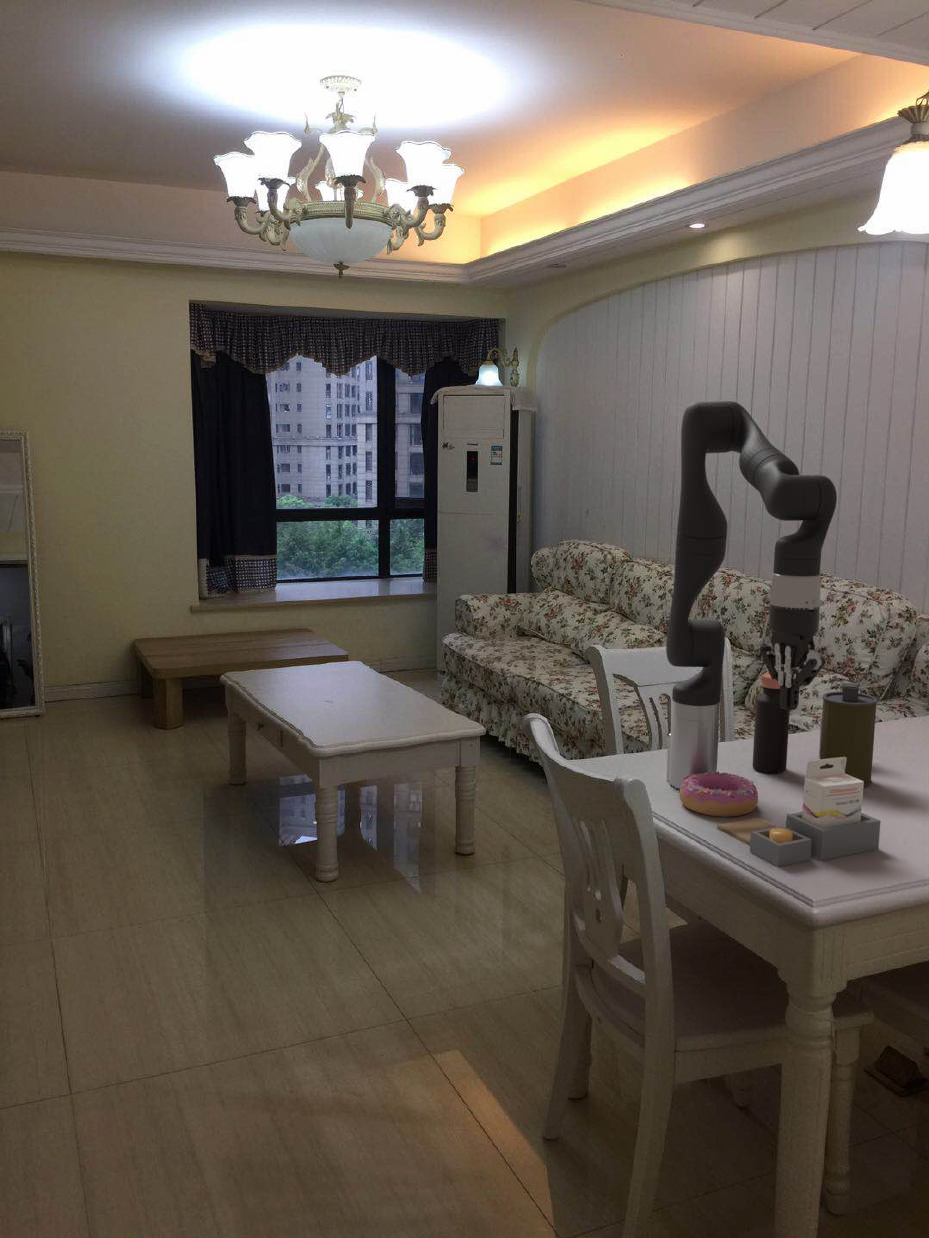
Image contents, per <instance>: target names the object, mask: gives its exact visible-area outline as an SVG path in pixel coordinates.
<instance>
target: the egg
mask: <svg viewBox="0 0 929 1238" xmlns="http://www.w3.org/2000/svg"><path fill="white" fill-rule="evenodd" d="M792 836H793V833H792V832H791V831H789V830H786V829H781V828H775V829H771V830H770V836H769V838H770V839H772V840H774V841H775V842H777V843H784V842H789V841H792Z"/></svg>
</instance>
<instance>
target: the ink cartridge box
mask: <svg viewBox="0 0 929 1238" xmlns="http://www.w3.org/2000/svg"><path fill="white" fill-rule="evenodd" d="M846 761H847V758H846V757H841V758H830V759H820V758H819V759H816V760H815V759H814V760H809V761H808V762H807V765H806V767H807V768H806V774H805V777H804V784H803V785H804V786H803V798H802V799H803V801H802V811H801V812H802V819H803V820H806V821H808V822H810V823H812V824H814V825H816V826H819V827H821V828H828V827H834V826H839V825H844V824H850V823H855V822H860V820H861V813H862V809H863V808H862V805H863V794H864V788H863V786H864V781H861V780H859V779H857V778H854V777H852V776H849V775H847V774H845V767H846ZM826 764H829V765H833V768H828V769H820V767H821V766H824V765H826Z"/></svg>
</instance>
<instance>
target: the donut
mask: <svg viewBox="0 0 929 1238" xmlns="http://www.w3.org/2000/svg"><path fill="white" fill-rule="evenodd" d="M757 789H758V788H757V787H756V785H755V784H754V781H752V780H749V779H748V778H745V777H743V776H740V775H739V774H731V773H728V772H720V771H717V772H712V773H711V772H710V773H709V772H704V773H702V774H701V773H695V774H692V775H691V776H690V775H688V776H686V777H685V778H684V779H683V782H682V784H681V786H680V789H679V797H680V802H681V803H682V805H683V806H684V807H686V808H687V809H689V810H690V809H691V810H690V811H693V812H694V811H695V813H697V814H700V815H706V816H711V817H721V818H722V817H724V818H725V817H726V818H728V817H729V818H731V817H739V816H743V815H747V814H750V813H751V812H753V811H754V810H755V809H756V807H757V804H758V802H759V792H758V790H757Z"/></svg>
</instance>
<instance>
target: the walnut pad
mask: <svg viewBox="0 0 929 1238" xmlns="http://www.w3.org/2000/svg"><path fill="white" fill-rule="evenodd" d="M774 827H777V826H776V825H774V824H772V823H770V822H767V821H765V820H764V819H761V818H760V817H754V818H748V819H742V820H737V821H736V820H735V821H731V822H730V821H729V822H727V823H721V824H720V823H719V824H717V825H716V829H718V830H720V831H722V832H724V833H726V834H728V835H729V836H732V837H734V838H735V839H736V840H739V841H740V842H743V843H745V844H747V845H748V846H750V837H751V832H752V831H757V830H763V829H768V828H774Z"/></svg>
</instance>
